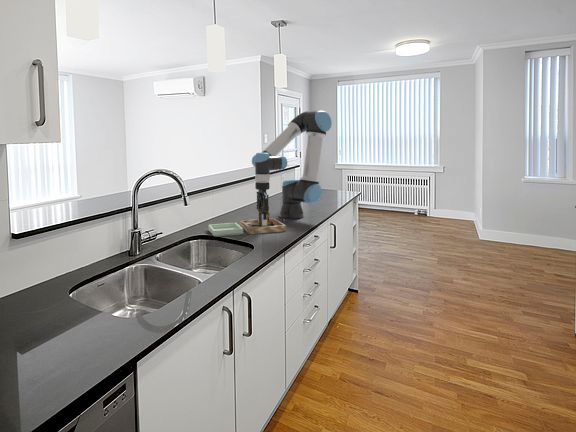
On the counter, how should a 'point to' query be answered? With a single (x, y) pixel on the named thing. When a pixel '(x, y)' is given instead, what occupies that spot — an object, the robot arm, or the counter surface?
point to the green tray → (225, 229)
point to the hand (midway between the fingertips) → (262, 223)
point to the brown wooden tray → (255, 230)
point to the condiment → (261, 218)
